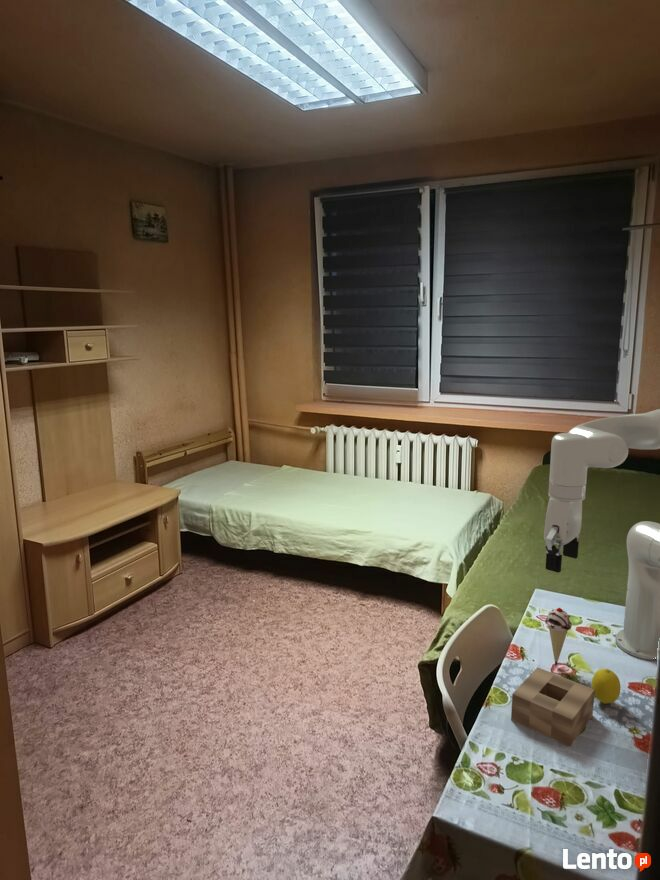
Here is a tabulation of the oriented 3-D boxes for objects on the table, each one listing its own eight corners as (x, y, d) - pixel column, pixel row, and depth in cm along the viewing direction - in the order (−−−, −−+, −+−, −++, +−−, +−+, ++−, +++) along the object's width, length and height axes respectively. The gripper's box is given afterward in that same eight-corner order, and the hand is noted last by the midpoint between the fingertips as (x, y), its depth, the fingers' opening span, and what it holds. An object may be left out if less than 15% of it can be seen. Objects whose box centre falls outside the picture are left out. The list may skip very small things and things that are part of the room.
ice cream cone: (542, 671, 138) (545, 611, 135) (543, 657, 144) (546, 600, 140) (568, 675, 136) (573, 615, 133) (568, 662, 142) (572, 603, 138)
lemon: (622, 713, 124) (625, 678, 122) (593, 710, 125) (596, 675, 123) (615, 696, 129) (618, 663, 127) (587, 693, 130) (590, 660, 128)
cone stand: (535, 691, 131) (537, 667, 130) (592, 715, 123) (594, 689, 122) (511, 719, 122) (512, 693, 121) (570, 747, 114) (572, 719, 113)
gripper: (565, 478, 140) (560, 547, 143) (533, 496, 127) (529, 571, 131) (598, 484, 135) (592, 556, 138) (569, 503, 122) (563, 581, 126)
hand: (561, 563), depth 134 cm, fingers open, 9 cm apart
